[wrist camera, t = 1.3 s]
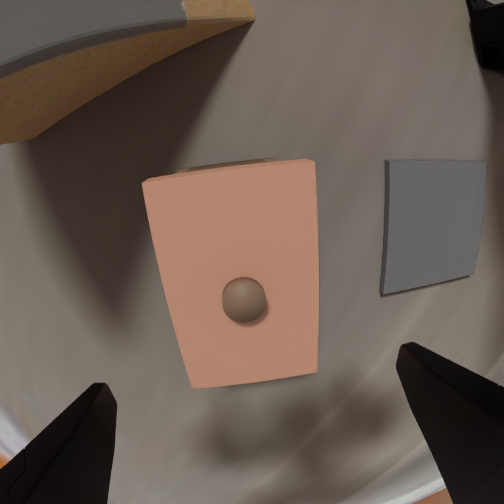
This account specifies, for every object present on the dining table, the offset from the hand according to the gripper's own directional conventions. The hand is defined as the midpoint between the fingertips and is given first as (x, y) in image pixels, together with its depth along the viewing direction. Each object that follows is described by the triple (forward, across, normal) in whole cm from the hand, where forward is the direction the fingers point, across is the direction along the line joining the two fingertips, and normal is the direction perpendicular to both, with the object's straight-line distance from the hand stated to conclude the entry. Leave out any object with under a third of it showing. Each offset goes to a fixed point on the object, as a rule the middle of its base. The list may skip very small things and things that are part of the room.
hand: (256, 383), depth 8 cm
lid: (+6, 0, 0) cm, 7 cm away
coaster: (+11, -14, 0) cm, 18 cm away
